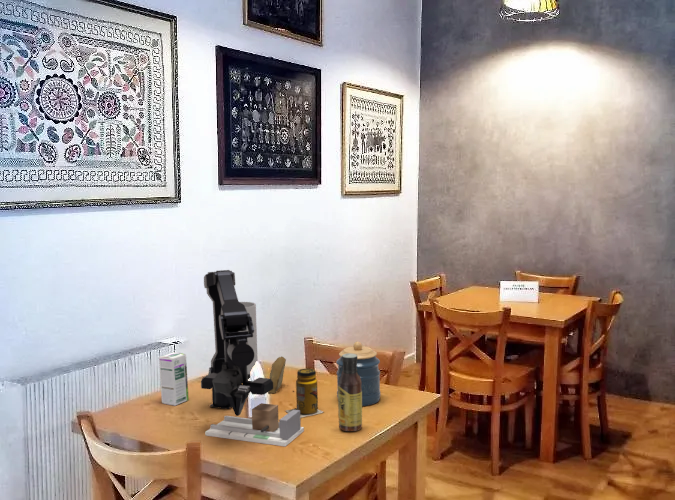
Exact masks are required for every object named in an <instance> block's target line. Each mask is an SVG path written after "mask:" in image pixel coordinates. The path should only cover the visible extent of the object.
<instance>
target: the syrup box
mask: <svg viewBox="0 0 675 500" xmlns="http://www.w3.org/2000/svg"><path fill="white" fill-rule="evenodd" d="M158 359H159V360H158V361H159V363H158V364H159V375H160V376H159V377H160V379H159V380H160V390H161V391H160V392H161V393H160V394H161V404H165V405H169V406H174V407H175V406H177V405H180V404H182V403H185V402H188V401H189V386H188V385H189V383H188V366H187V354H186V353H183V352H171V353H167V354H165V355H161V356H159V357H158Z"/></svg>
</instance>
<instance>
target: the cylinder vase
mask: <svg viewBox="0 0 675 500" xmlns="http://www.w3.org/2000/svg"><path fill="white" fill-rule="evenodd" d="M239 302H240V303H242V304H243V305H245V308H246V310H247V313H249V314H250V316H251V318H252V322H253V327H254V333H253V337H249V338H247V341H248V344H249V345H250V346H251V347H252V349H253V351H254V359H253V361H252V363H250V364H249V365H248V366H247V373H248V374H250V371H251V369H252V367H253V366H254V365H255V362H256V361H258V337H257V336H258V334H257V329H258V327H257V305H256V303H255V302H251V301H239ZM246 331H248V328H247V330H246ZM238 332H242V331H238ZM248 333H249V332H248Z"/></svg>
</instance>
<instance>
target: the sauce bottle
mask: <svg viewBox="0 0 675 500" xmlns="http://www.w3.org/2000/svg"><path fill="white" fill-rule="evenodd" d="M342 361H343V370H342V374H341V377H340V380H339V383H338V388H337V391H338V397H337V400H338V402H337V407H338V411H337V412H338V427H339V429H340V430H342V431H343V432H357V431H360V430H361V429H362V426H363V406H362V389H361V378H360V376H359V375H358V373H357V355H356V354H352V353H348V354H344V355H342Z"/></svg>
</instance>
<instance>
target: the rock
mask: <svg viewBox="0 0 675 500" xmlns="http://www.w3.org/2000/svg"><path fill="white" fill-rule="evenodd" d="M286 361H287V358H285V357H284V356H279V357H277V358H276V359H275V360H274V362H273V363H272V365H271V368H270V373H269V376H268V378H269V379H271V380H272V382H273V389H272V390H270V391H269V392H268V393H271V394H276V393H277V392H278V390H279V389H280V388H281V387H282V384H283V379H284V373H285V367H286Z"/></svg>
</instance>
